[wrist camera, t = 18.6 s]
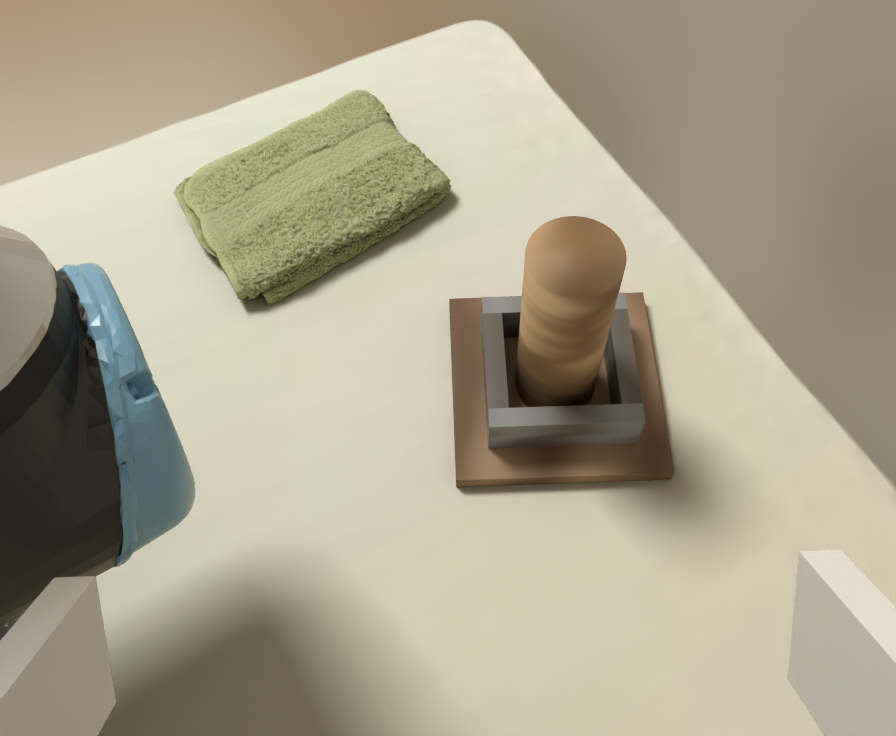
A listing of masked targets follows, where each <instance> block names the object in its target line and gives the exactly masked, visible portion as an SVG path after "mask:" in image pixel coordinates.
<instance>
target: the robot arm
mask: <svg viewBox="0 0 896 736" xmlns="http://www.w3.org/2000/svg"><path fill="white" fill-rule="evenodd" d="M194 498H195V482H194V477H193V475H192V472H191V468H190V465H189V463H188V460H187V457H186V455H185V452H184V449H183V447H182V444H181V442H180V439H179V437H178V434H177V432H176V430H175V427H174V425H173V422H172V420H171V417H170V415H169V413H168V410H167V408H166V406H165V403H164V401H163V399H162V397H161V394H160V392H159V390H158V388H157V386H156V385H155V383H154V381H153V378H152V373H151V371H150V369H149V367H148V365H147V362H146V360H145V358H144V355H143V352H142V349H141V347H140V345H139V342H138V340H137V338H136V335H135V333H134V331H133V329H132V326H131V324H130V322H129V320H128V317H127V315H126V313H125V311H124V309H123V307H122V304H121V302H120V300H119V298H118V296H117V294H116V292H115V290H114V288H113V286H112V284H111V282H110V280H109V278H108V276H107V274H106V273H105V271H104V270H103V269H102V267H100V266H99V265H97V264H94V263H84V264H81V265H77V266H75V265H65V266H63V267H62V268H61V269H60V270H58V271H56V270H55V268H54V267H53V265H52V264H51V262H50V261H49V259H48V258H47V256H46V255H45V254H44V252H43V251H42V250H41V249H40V248H39V247H38V246H37V245H36V244H35V243H34V242H33V241H32V240H30V239H29V238H28V237H27V236H25V235H23V234H21V233H19V232H17V231H15V230H13V229H9V228H6V227H3V226H0V736H98V734H99V732H100V731H101V729H102V727H103V725H104V723H105V722H106V720H107V718H108V716H109V715H110V713H111V711H112V709H113V708H114V706H115V704H116V698H115V692H114V686H113V680H112V674H111V668H110V661H109V655H108V649H107V643H106V637H105V631H104V624H103V618H102V612H101V606H100V600H99V594H98V588H97V581H96V576H97V575H99V574H101V573H103V572H105V571H107V570H109V569H110V568H112V567H115V566H117V567H118V566H120V565H122V564H124V563H125V562H126V561H127V560H128V559H129V558H130V557H131V555H132V553H134V552H135V551H137V550H139V549H140V548H142V547H143V546H145V545H147V544H148V543H150V542H151V541H153V540H155V539H156V538H158V537H159V536H161V535H163V534H164V533H166V532H167V531H169V530H171V529H172V528H174V527H175V526H177V525H178V524H179V523H180V522H181V521H182V520H183V519H184V518H185V517H186V516H187V515H188V513H189V512H190V510H191V508H192V505H193V502H194ZM788 680H789V682H790V683H791V685H792V686H793V688H794V689H795V691H796V693H797V694H798V696H799V697H800V699H801V700H802V702H803V703H804V705H805V707H806V708H807V710H808V711H809V713H810V714H811V716H812V717H813V719H814V721H815V722H816V724H817V725H818V727H819V728H820V730H821V731H822V733H823V735H824V736H896V607H895V606H894V605H893V604H892V603H891V602H890V601H889V600H888V599H887V598H886V597H885V596H884V595H883V594H882V593H881V592H880V591H879V590H878V589H877V588H876V587H875V586H874V585H873V584H872V583H871V582H870V581H869V580H868V578H867V577H866V576H865V575H864V574H863V573H862V572H861V571H860V570H859V569H858V568H857V567H856V566H855V565H854V564H853V563H852V562H851V561H850V560H849V559H848V558H847V557H846V556H845V555H844V554H843V553H842V552H841V551H840V550H824V551H799V557H798V568H797V579H796V590H795V601H794V613H793V624H792V635H791V646H790V657H789V668H788Z"/></svg>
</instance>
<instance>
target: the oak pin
mask: <svg viewBox="0 0 896 736" xmlns="http://www.w3.org/2000/svg"><path fill="white" fill-rule="evenodd" d="M625 266H626V251H625V248H624V245H623V243H622V241H621V240H620V238H619V237H618V236H617V234H616V233H615V232H614V231H613V230H611V229H610V228H609V227H607V226H606V225H604V224H602V223H600V222H598V221H596V220H593V219H590V218H585V217H577V216H569V217H561V218H557V219H554V220H551V221H549V222H547V223H545V224H543V225H542V226H540V227H539V228H538V229H537V230H536V231H535V232H534V233H533V234H532V235H531V237H530V238H529V241H528V243H527V246H526V252H525V264H524V276H523V289H522V302H521V314H520V327H519V340H518V352H517V365H516V378H515V385H516V390H517V393H518V395H519V397H520V399H521V400H522V402H523V403H524V404H525V405H526V406H527V407H548V406H578V405H587V404H588V403H589V402H590V400H591V398H592V396H593V393H594V389H595V385H596V381H597V377H598V373H599V369H600V365H601V361H602V357H603V354H604V350H605V346H606V342H607V338H608V334H609V330H610V326H611V322H612V318H613V314H614V310H615V306H616V302H617V298H618V294H619V290H620V286H621V282H622V278H623V274H624V270H625Z"/></svg>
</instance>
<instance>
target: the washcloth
mask: <svg viewBox="0 0 896 736" xmlns="http://www.w3.org/2000/svg"><path fill="white" fill-rule="evenodd" d="M450 181H451V180H449V179H448V178H447V176H446V175H445V173H444V172H443V171H441V170H440V169H439V168H438V167H437V166H436V165H434V164H433V162H431V161H430V160H429V159H428V158H426V157H425V154H424V153H422V152H421V151H420V149H419V147H417V146H416V145H415V144H412V143H410V142H407V140H406V139H405V138H404V137H403V136H402V135H401V134H400V133H399V132H398V131H397V130H396V127H395V125H394V122H393V120H392V119H391V118H390V115H389V113H388V112H386V109H385V107H384V105H383V104H382V103H381V102H380V101H379V100H378V99H377V98H376V97H375V96H374V95H372V94H370V93H369V92H367V91H365V90H357V91H352V92H350V93H348V94H346V95H345V96H343V97H341V98H339V99H338V100H336V101H334V102H333V103H331V104H329V105H328V106H327V107H326V108H324V109H322V110H321V111H319V112H316V113H315V114H311V115H310V116H309V117H306V118H303V119H300V120H297V121H295V122H292V123H291V124H289V125H288V126H286V127H284V128H283V129H280V130H278V131H277V132H274V133H272V134H271V135H269V136H267V137H265V138H263V139H262V140H259V141H258V142H256V143H254V144H252V145H250V146H248V147H245V148H243V149H240V150H238V151H236V152H234V153H232V154H229V155H227V156H224V157H222V158H220V159H217V160H215V161H213V162H211V163H209V164H207V165H205V166H204V167H202V168H200V169H199V170H198V171H196V172H195V173H194V174H193V175H192V176H190V177H189V178H186V179H184V181H183V182H181V183H180V184H179V185H178V186H177V187H176V189H175V191H174V195H175V196H176V198H177V199H178V201H179V204H180V205H181V206H182V208H183V210H184V212H185V215H186V217H187V219H188V221H189V223H190V226H191V228H192V229H193V232H194V234H195V235H196V238H197V240H198V241H199V243H201V245H202V246H203V247H204V248H205V249H206V250H207V252H208V253H210V254H211V255H213V256H214V257H216V259H217V260H218V263H219V264H220V266H221V268H222V269H223V270H224V272H225V274H226V275H227V277H228V279H229V281H230V282H231V284H232V286H233V288H234V291H235V293H236V294H237V296H238V298H239V299H244V298H246V297H249V299H251V298H256V297H257V296H258V295H259V294H260V293H262V294H263V296H264V297H265V299H266V301H267V303H268V304H272V303H275V302H277V301H279V302H281V301H282V300H283V299H284V298H285V297H286V296H287V295H289V294H293V293H294V292H295V291H296V290H300V289H301V288H302V287H304V286H305V284H306V283H309V282H310V281H313V280H315V279H318V278H319V277H321V276H322V275H324V274H325V273H326V272H328V271H330V270H331V269H332V268H334V267H336V266H337V265H338V264H343V263H345V262H346V261H348V259H351V258H353V257H355V256H356V255H357V254H359V253H360V252H363V251H364V250H366V249H367V248H368V247H369V246H372V245H373V244H374V243H376V242H380V241H381V240H382V239H383V238H384V237H387V236H388V235H390V234H391V235H392V234H394V232H396V231H397V230H400V227H401V226H404V225H405V224H408V223H409V222H411V221H412V220H413V218H418V217H420V216H421V215H423V213H425V212H426V211H427V210H428V209H429V208H434V207H435V206H437V205H438V204H439V203H440V201H441V200H442V199H443V198H444V197H445V195H447V193H448V192H449V191H450V189H451V185H450V184H449V182H450Z"/></svg>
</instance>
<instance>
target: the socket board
mask: <svg viewBox="0 0 896 736" xmlns="http://www.w3.org/2000/svg"><path fill="white" fill-rule="evenodd" d="M449 302H450V330H451V357H452V384H453V410H454V437H455V463H456V486H485V485H515V484H544V483H574V482H604V481H633V480H663V479H671V478H672V476H673V475H674V468H673V462H672V456H671V451H670V445H669V439H668V433H667V428H666V422H665V416H664V411H663V405H662V399H661V393H660V388H659V382H658V376H657V371H656V365H655V359H654V353H653V348H652V342H651V336H650V330H649V325H648V319H647V313H646V308H645V302H644V296H643V292H642V293H619V294H618V298H617V302H616V306H615V310H614V314H613V318H612V322H611V326H610V330H609V334H608V338H607V342H606V346H605V350H604V354H603V357H602V361H601V365H600V369H599V373H598V377H597V381H596V385H595V389H594V393H593V396H592V398H591V400H590V402H589V403H588V404H587V405H578V406H548V407H527V406H526V405H525V404H524V403H523V402H522V400H521V399H520V397H519V395H518V393H517V390H516V385H515V378H516V365H517V352H518V340H519V327H520V314H521V302H522V296H510V297H482V298H462V299H449Z"/></svg>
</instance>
